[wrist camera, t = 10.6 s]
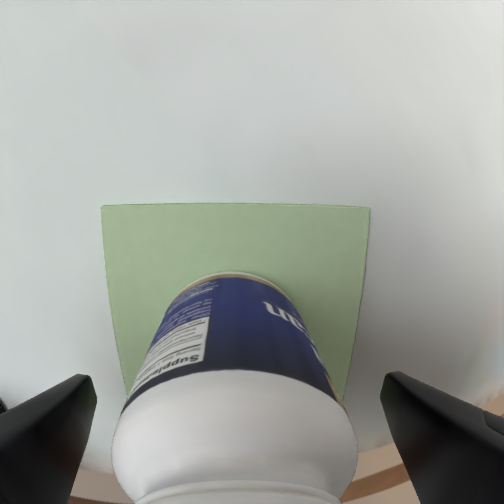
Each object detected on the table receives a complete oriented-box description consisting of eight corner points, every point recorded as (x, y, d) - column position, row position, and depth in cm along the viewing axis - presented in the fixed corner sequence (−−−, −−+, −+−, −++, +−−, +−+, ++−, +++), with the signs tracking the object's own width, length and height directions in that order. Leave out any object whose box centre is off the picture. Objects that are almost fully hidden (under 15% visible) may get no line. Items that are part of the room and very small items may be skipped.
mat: (336, 411, 14) (338, 416, 14) (135, 413, 13) (133, 418, 13) (366, 207, 12) (370, 208, 11) (104, 205, 11) (100, 206, 11)
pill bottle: (326, 335, 12) (440, 547, 3) (228, 405, 13) (235, 614, 4) (238, 236, 11) (267, 493, 2) (136, 325, 12) (29, 546, 2)
